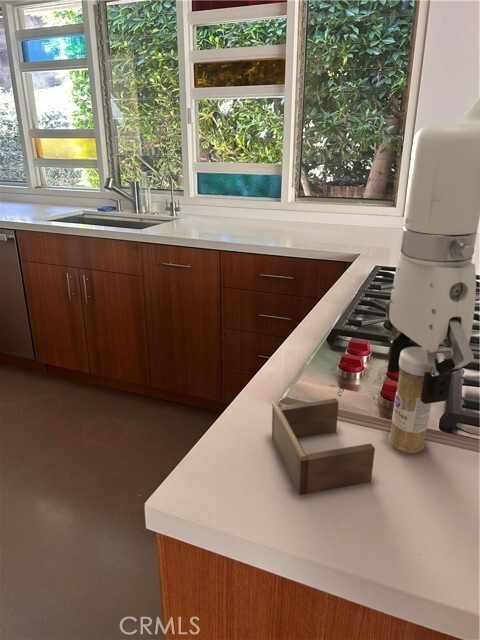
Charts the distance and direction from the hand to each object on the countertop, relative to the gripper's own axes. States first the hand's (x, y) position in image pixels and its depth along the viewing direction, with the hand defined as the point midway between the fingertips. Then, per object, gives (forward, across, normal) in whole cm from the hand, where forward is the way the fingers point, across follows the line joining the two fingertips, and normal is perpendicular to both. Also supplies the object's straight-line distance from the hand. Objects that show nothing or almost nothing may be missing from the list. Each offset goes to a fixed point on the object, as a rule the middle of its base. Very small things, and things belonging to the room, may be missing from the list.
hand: (415, 384), depth 58 cm
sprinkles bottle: (+9, 0, 0) cm, 9 cm away
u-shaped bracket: (+9, 0, +12) cm, 15 cm away
